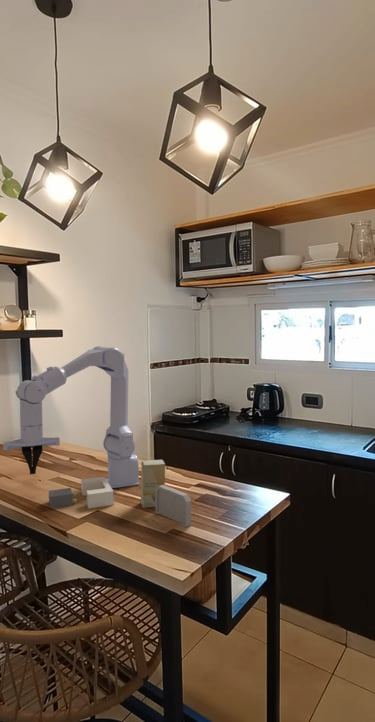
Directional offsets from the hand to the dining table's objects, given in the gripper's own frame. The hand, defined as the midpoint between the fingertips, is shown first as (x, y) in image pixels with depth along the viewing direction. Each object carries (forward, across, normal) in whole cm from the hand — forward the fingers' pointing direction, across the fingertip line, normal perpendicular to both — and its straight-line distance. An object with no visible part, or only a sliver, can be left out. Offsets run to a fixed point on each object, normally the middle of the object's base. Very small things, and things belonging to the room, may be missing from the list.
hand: (32, 473), depth 124 cm
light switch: (+10, -34, +21) cm, 41 cm away
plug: (+10, -7, 0) cm, 12 cm away
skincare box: (+10, -32, +10) cm, 35 cm away
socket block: (+10, -18, 0) cm, 20 cm away
